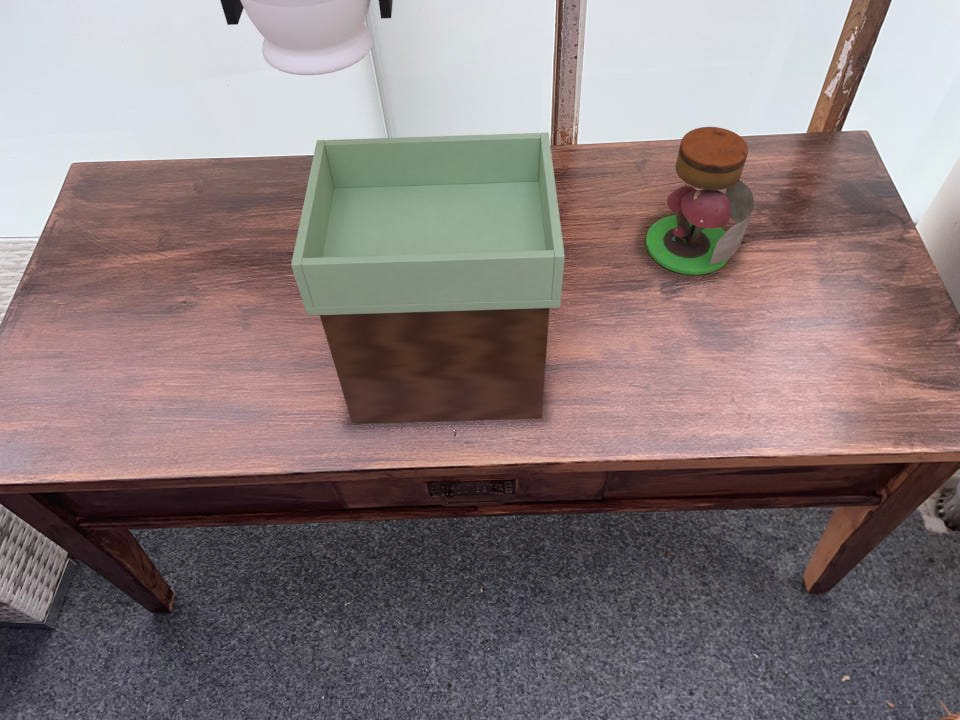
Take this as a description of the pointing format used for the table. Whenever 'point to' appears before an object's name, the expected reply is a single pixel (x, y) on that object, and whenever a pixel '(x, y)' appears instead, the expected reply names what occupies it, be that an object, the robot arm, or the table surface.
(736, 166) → the toy figurine
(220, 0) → the robot arm
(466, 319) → the stand
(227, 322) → the table surface
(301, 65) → the jar
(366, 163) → the tray
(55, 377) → the table surface
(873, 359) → the table surface
